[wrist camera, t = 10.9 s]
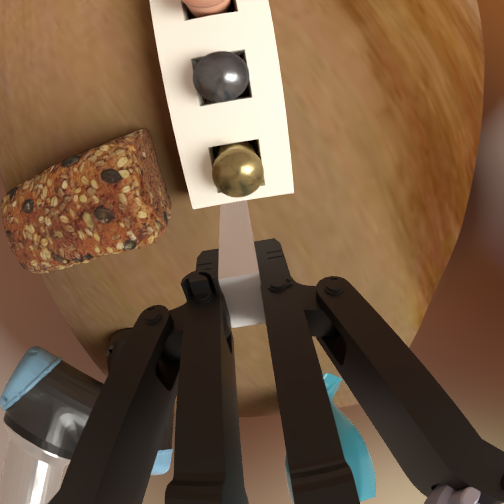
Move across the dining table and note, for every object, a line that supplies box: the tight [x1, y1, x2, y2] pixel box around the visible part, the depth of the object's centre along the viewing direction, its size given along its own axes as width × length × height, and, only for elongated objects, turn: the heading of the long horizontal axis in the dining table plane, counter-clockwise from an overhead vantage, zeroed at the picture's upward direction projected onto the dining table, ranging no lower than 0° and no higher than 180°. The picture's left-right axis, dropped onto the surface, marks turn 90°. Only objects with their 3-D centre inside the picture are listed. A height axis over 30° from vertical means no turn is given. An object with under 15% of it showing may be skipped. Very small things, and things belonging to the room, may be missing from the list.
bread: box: [1, 129, 171, 274], centre depth 25 cm, size 19×11×10 cm, turn 100°
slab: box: [149, 0, 294, 209], centre depth 22 cm, size 10×24×4 cm, turn 8°
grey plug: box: [193, 51, 249, 102], centre depth 21 cm, size 4×4×6 cm
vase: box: [285, 373, 376, 504], centre depth 46 cm, size 17×17×30 cm
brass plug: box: [212, 141, 264, 198], centre depth 25 cm, size 4×4×6 cm
